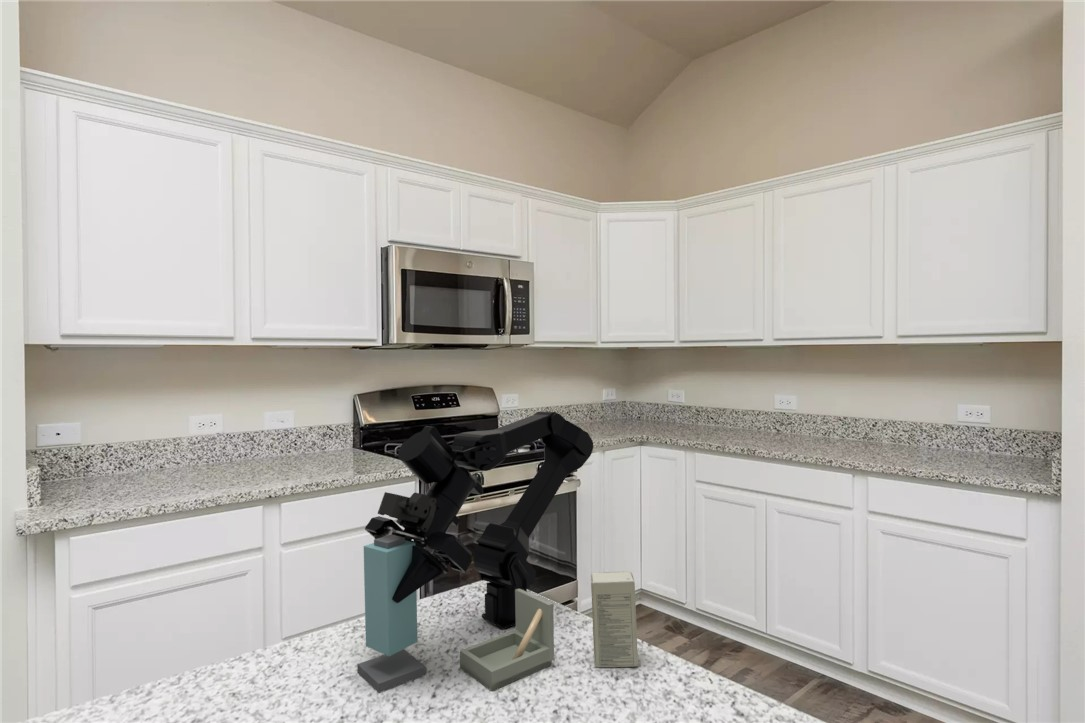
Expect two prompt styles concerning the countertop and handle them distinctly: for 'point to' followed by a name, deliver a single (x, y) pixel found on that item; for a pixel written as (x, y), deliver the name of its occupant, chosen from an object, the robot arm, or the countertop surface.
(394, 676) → the foam pad
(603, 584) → the skincare box
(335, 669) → the countertop surface
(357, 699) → the countertop surface
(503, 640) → the case
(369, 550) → the module
